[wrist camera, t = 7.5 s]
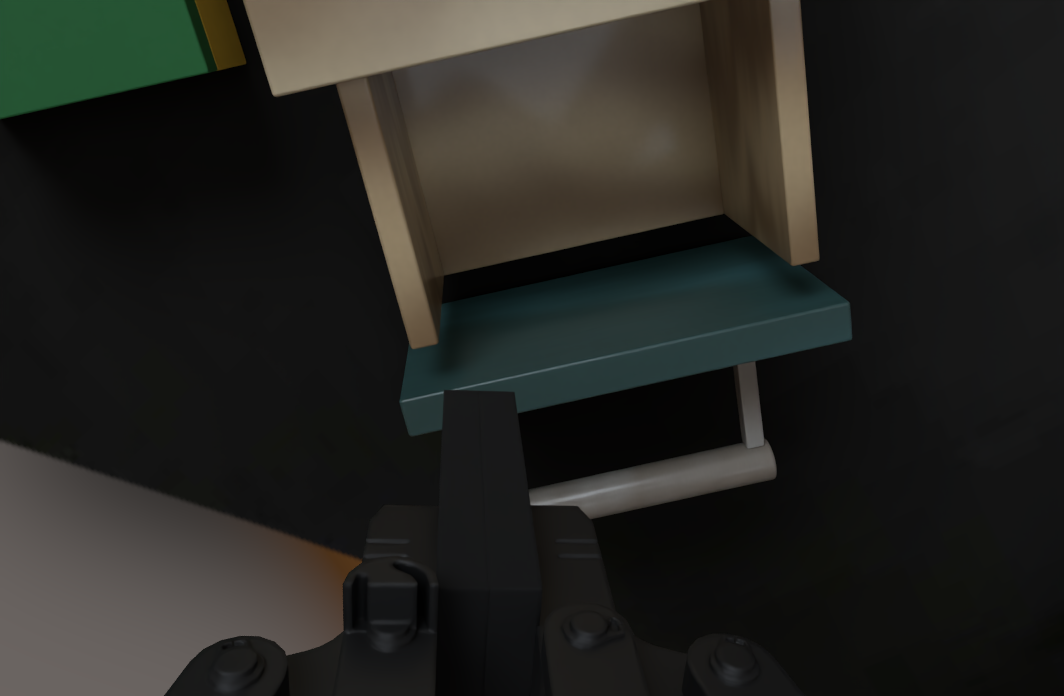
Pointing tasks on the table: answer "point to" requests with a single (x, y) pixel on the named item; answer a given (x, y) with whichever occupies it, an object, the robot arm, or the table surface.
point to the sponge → (107, 48)
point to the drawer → (604, 222)
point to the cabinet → (409, 32)
